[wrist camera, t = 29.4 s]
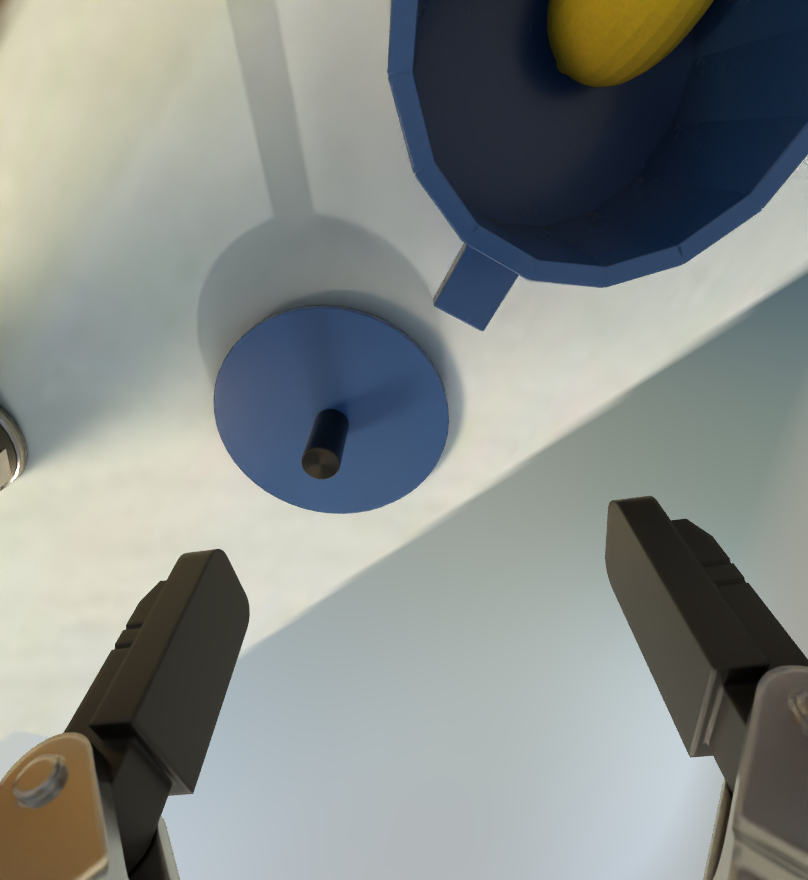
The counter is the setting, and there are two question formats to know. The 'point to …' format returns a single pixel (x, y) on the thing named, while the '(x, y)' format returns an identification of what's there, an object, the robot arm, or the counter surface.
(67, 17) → the counter surface
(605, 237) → the pot
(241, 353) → the lid
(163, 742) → the robot arm
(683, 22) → the lemon
